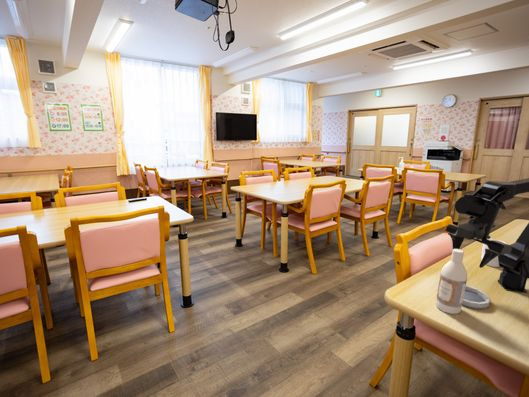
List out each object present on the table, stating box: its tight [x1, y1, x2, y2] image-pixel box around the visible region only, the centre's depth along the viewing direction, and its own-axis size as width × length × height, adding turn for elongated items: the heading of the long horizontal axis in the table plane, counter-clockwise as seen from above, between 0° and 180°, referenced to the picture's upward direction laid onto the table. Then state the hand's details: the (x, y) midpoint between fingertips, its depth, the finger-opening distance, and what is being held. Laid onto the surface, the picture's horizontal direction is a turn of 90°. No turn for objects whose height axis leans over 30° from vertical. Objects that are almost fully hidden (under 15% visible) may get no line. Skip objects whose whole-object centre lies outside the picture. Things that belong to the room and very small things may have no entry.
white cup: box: [480, 238, 508, 268], centre depth 122 cm, size 8×8×10 cm
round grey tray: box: [462, 284, 491, 310], centre depth 97 cm, size 12×12×2 cm
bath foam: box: [435, 248, 468, 315], centre depth 90 cm, size 7×7×20 cm
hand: (466, 261), depth 99 cm, fingers open, 9 cm apart
